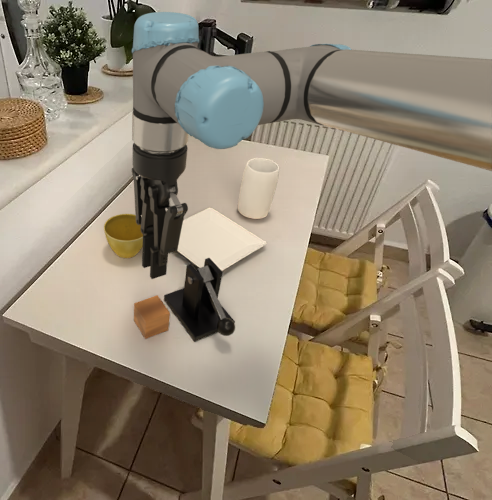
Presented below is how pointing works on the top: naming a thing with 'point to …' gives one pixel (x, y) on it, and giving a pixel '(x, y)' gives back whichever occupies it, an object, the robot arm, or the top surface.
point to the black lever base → (197, 302)
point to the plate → (215, 239)
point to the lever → (216, 303)
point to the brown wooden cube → (151, 316)
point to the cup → (258, 187)
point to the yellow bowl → (124, 235)
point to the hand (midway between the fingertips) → (153, 269)
